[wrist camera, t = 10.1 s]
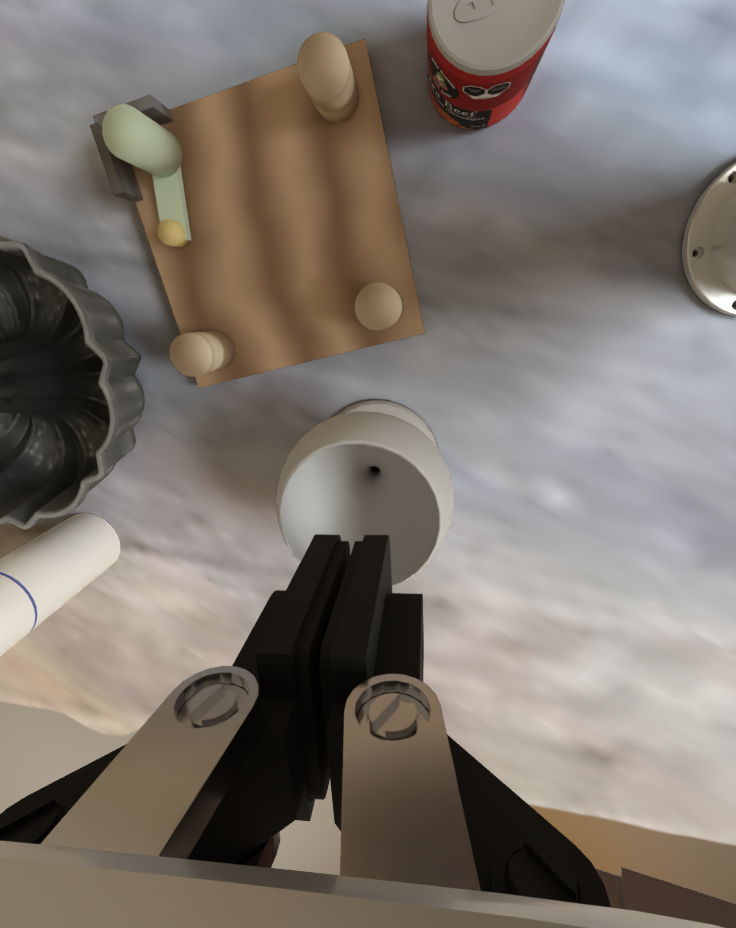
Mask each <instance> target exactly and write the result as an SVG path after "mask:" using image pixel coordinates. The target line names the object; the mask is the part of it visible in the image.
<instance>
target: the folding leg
mask: <svg viewBox="0 0 736 928" xmlns="http://www.w3.org/2000/svg"><path fill="white" fill-rule="evenodd" d="M102 134H103V139H104V141H105V144H106V146H107V147H108V149H109V150H110V152H111V153H112V154H113V155H115V156H116V157H118V158H120V159H122V160H124V161H126V162H128V163H130V164H132V165H134V166H136V167H138V168H140V169H143V170H145V171H147V172H149V173H151V174H152V177H153V183H154V189H155V195H156V201H157V208H158V214H159V220H160V223H159V225H158V229H157V233H158V237H159V239H160V240H161V241H162V242H163V243H164V244H166V245H169V246H173V247H177V248H182V247H185V246H186V245H187V244H188V242H189V241H192V240H191V234H190V227H189V220H188V213H187V207H186V200H185V193H184V186H183V180H182V173H181V166H180V164H181V160H182V151H181V147H180V144H179V142H178V140H177V138H176V137H175V136H174V135H173V134H172V133H171V132H169V131H168V130H166V129H165V128H163V127H162V126H161V125H159V124H158V123H156V122H155V121H153V120H152V119H150V118H149V117H147V116H146V115H144V114H143V113H141V112H140V111H138V110H137V109H135V108H134V107H132V106H130V105H127V104H117V105H114V106H113V107H111V108H110V109H109V110H108V111H107V113H106V114H105V116H104V119H103V123H102Z"/></svg>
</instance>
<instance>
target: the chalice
mask: <svg viewBox="0 0 736 928" xmlns="http://www.w3.org/2000/svg"><path fill="white" fill-rule="evenodd" d="M276 505H277V517H278V523H279V526H280V529H281V532H282V535H283V538H284V540H285V542H286V544H287V546H288V547H289V549H290V551H291V552H292V554H293V556H294V557H295V558H296V559H297V560H298V561H299V562H301V560H302V558H303V557H304V555H305V553H306V551H307V549H308V547H309V545H310V543H311V541H312V539H313V537H314V535H315V534H327V535H340V537H341V541H349V544H350V555H351V552H352V549H353V546H354V543H355V541H363V538H364V535H389V537H390V551H391V575H392V586H395V585H397V584H400V583H402V582H405V581H406V580H408V579H409V578H411V577H412V576H414V575H416V574H417V573H419V572H420V571H421V570H422V569H423V568H424V567H425V566H426V565H427V564H428V563H429V562H430V561H431V560H432V559H433V558H434V557H435V555H436V554H437V552H438V551H439V549H440V547H441V545H442V544H443V542H444V540H445V539H446V536H447V534H448V531H449V527H450V524H451V520H452V517H453V513H454V488H453V483H452V479H451V474H450V471H449V468H448V466H447V464H446V462H445V460H444V457H443V455H442V453H441V452H440V451H439V449H438V444H437V442H436V439H435V437H434V434H433V432H432V430H431V429H430V428H429V426H428V425H427V423H426V422H425V421H424V420H423V419H422V418H421V417H420V416H419V415H418V414H417V413H416V412H414V411H413V410H411V409H409V408H407V407H406V406H404V405H402V404H399V403H395V402H392V401H389V400H368V401H362V402H358V403H356V404H354V405H351V406H349V407H347V408H345V409H344V410H343V411H341V412H340V413H338V414H337V415H336V416H334V417H332V418H330V419H328V420H325V421H323V422H321V423H319V424H318V425H316V426H315V427H314V428H313V429H311V430H310V431H309V432H308V433H306V434H305V435H304V436H303V437H302V438H300V440H299V441H298V442H297V444H296V445H295V446H294V448H293V449H292V450H291V452H290V453H289V455H288V457H287V459H286V462H285V464H284V466H283V469H282V471H281V474H280V477H279V482H278V489H277V495H276Z"/></svg>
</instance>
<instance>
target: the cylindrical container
mask: <svg viewBox="0 0 736 928" xmlns="http://www.w3.org/2000/svg"><path fill="white" fill-rule="evenodd" d="M119 554H120V541H119V538H118V536H117V534H116V532H115V530H114V529H113V528H112V526H111V525H110V524H109V523H108V522H106V521H105V520H104V519H102V518H100V517H98V516H96V515H93V514H88V513H79V514H76V515H73V516H71V517H70V518H68V519H66V520H65V521H63V522H61V523H59V524H58V525H56V526H54V527H53V528H51V529H49V530H47V531H46V532H44V533H42V534H41V535H39V536H37V537H36V538H34V539H32V540H30V541H29V542H27V543H25V544H24V545H22V546H20V547H19V548H17V549H15V550H14V551H12V552H10V553H8V554H7V555H5V556H3V557H2V558H0V656H1V655H2V654H4V653H5V652H6V651H7V650H9V649H10V648H11V647H12V646H13V645H15V644H16V643H17V642H18V641H20V640H21V639H22V638H23V637H24V636H26V635H27V634H28V633H29V632H31V631H32V630H33V629H34V628H35V627H37V626H38V625H39V624H40V623H42V622H43V621H44V620H45V619H46V618H48V617H49V616H50V615H51V614H53V613H54V612H55V611H56V610H57V609H59V608H60V607H61V606H62V605H64V604H65V603H66V602H67V601H68V600H70V599H71V598H72V597H73V596H75V595H76V594H77V593H78V592H79V591H81V590H82V589H83V588H84V587H86V586H87V585H88V584H89V583H90V582H92V581H93V580H94V579H95V578H96V577H98V576H99V575H100V574H101V573H103V572H104V571H105V570H106V569H107V568H109V567H110V566H111V565H112V564H113V563H115V562H116V560H117V559H118V557H119Z"/></svg>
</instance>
